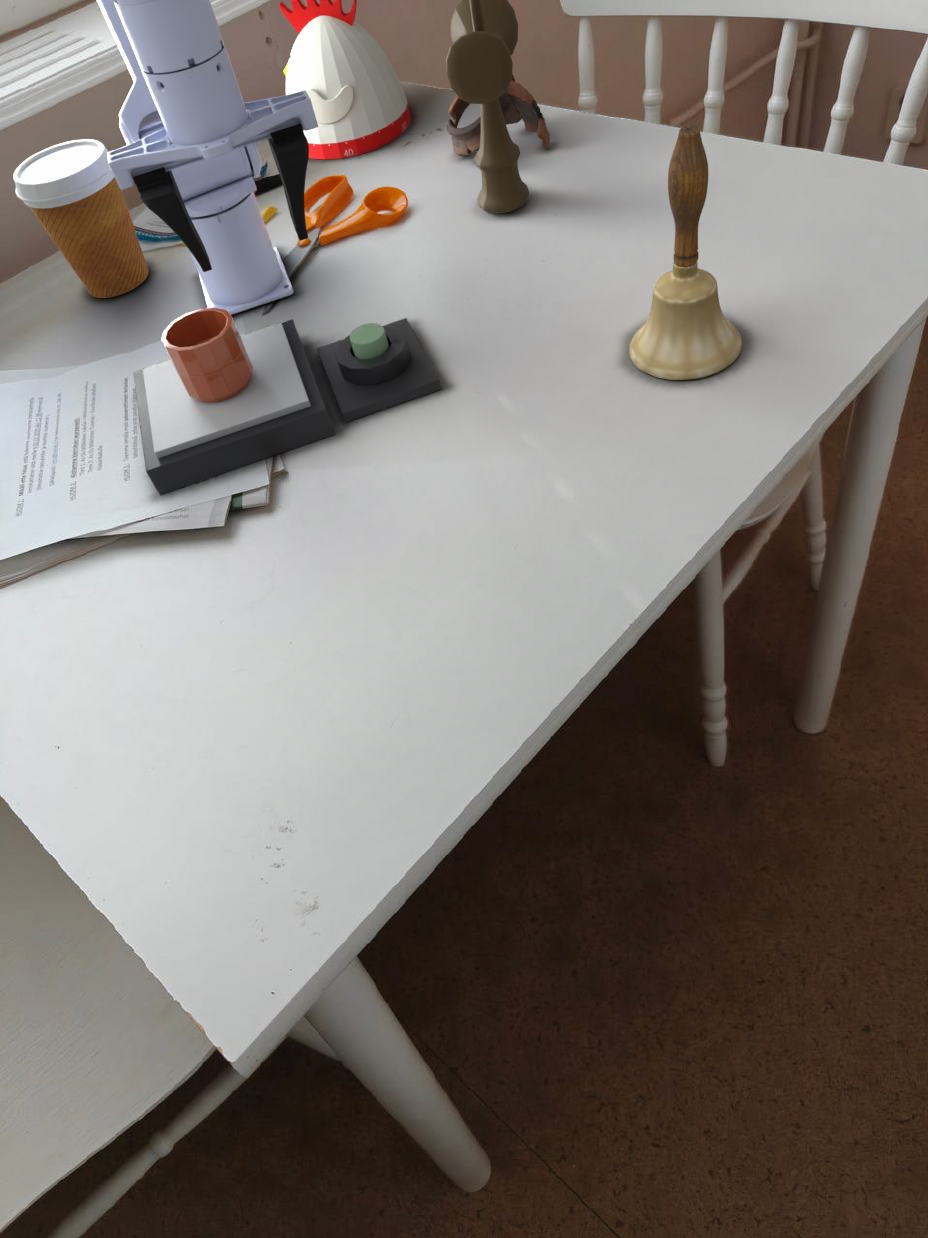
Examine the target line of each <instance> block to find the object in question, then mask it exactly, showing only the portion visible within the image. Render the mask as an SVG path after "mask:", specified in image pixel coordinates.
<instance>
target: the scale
mask: <svg viewBox="0 0 928 1238" xmlns="http://www.w3.org/2000/svg"><path fill="white" fill-rule="evenodd" d="M240 337H241V339H242V342H243V344H244V347H245V349H246V352H247V354H248V356H249V359H250V361H251V364H252V366H253V369H252V376H251V378H250V381H249V383H248V385H247V386H246V387H245V388H244V389H243V390H242V391H241V392H240V393H238V394H237V395H235V396H233V397H231V398H229V399H226V400H223V401H219V402H211V403H209V402H202V401H199V400H198V399H196V398H193V397H190V396H189V395H188V393H187V392H186V390H185V388H184V386H183V384H182V382H181V380H180V378H179V376H178V374H177V372H176V370H175V368H174V366H173V364H172V362H171V360H170V358H169V359H167V360H164V361H161V362H158V363H155V364H152V365H149V366H146V367H142V369H139V370H136V371H133V374H132V375H133V380H134V387H135V388H134V389H135V396H136V404H137V405H136V406H137V413H138V419H139V428H140V434H141V442H142V450H143V457H144V465H145V472H146V474H147V476H148V477H149V479H150V481H151V483H152V484H153V486H154V488H155V489H156V491H157V493H158V495H160V496H161V495H164V494H167V493H170V492H173V491H176V490H178V489H181V488H183V487H187V486H189V485H192V484H195V483H199V482H201V481H204V480H207V479H210V478H212V477H216V476H219V475H222V474H224V473H227V472H231V471H233V470H235V469H238V468H239V469H240V468H242V467H245V466H247V465H250V464H253V463H257V462H259V461H262V460H265V459H268V458H271V457H274V456H277V455H279V454H282V453H285V452H286V453H287V452H289V451H291V450H294V449H297V448H300V447H303V446H306V445H309V444H311V443H314V442H317V441H320V440H323V439H325V438H329V437H331V436H334V435H336V432H335V429H334V427H333V424H332V420H331V418H330V415H329V412H328V410H327V407H326V405H325V401H324V399H323V396H322V394H321V391H320V388H319V386H318V383H317V379H316V377H315V375H314V371H313V370H312V367H311V365H310V364H311V363H310V362H309V359H308V357H307V356H308V355H307V353H306V350H305V348H304V345H303V342H302V340H301V337H300V335H299V332H298V330H297V327H296V323H295V321H294V319H293V318H291V319H288V320H285V321H283V322H282V321H281V322H277V323H274V324H272V325H269V326H265V327H262V328H259V329H257V330H253V331H250V332H247V333H244V334H240Z"/></svg>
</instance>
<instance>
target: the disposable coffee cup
mask: <svg viewBox="0 0 928 1238" xmlns="http://www.w3.org/2000/svg"><path fill="white" fill-rule="evenodd" d="M108 152H109V150H108V149H107V147H106V146H105V145H104V144H103V143H102V142H101V141H99V140H96V139H92V138H83V139H73V140H70V141H69V140H68V141H65V142H60V143H58V144H54V145H51V146H50V147H47V148H44V149H42V150H41V151H38V152H36V153H34V154H32V155H30V156H29V157H28V158H26V159H25V160H23V161H22V162H21V163H19V165H18V166H17V167H16V169H15V170H14V172H13V175H12V178H13V182H14V185H15V191H14V193H15V195H16V197H17V198H18V199H19V200H20V201H22V202H23V203H24V204H25V206H27V207H28V208H29V209H30V210H31V212H32V213H33V214H34V216H35V217H36V219H37V220H38V221H39V223H40V224H41V226H42V227H43V228H44V230H45V232H46V233H47V235H48V236H49V237H50V239H51V240H52V242H53V243H54V244H55V246H56V247H57V249H58V250H59V251H60V253H61V254H62V256H63V258H64V259H65V260H66V261H67V263H68V264H69V266H70V267H71V269H72V271H74V273H75V275H76V276H77V277H78V278H79V280H80V282H81V283H82V285H83V286H84V288H85V289H86V290H87V292H88V293H89V295H90V296H92V297H94V298H99V299H108V298H114V297H117V296H121V295H124V294H126V293H129V292H131V291H132V290H135V289H137V288H138V287H139V286H140V285H141V284H143V282H144V281H146V279H147V278H148V275H149V273H150V272H149V267H148V264H147V262H146V258H145V256H144V253H143V250H142V247H141V243H140V240H139V238H138V235H137V234H138V233H137V232H136V228H135V225H134V221H133V219H132V217H131V212H130V210H129V207H128V205H127V202H126V198H125V196H124V195H125V194H124V192H123V190H121V189H120V187H119V185H118V183H117V181H116V178H115V176H114V174H113V172H112V170H111V168H110V165H109V163H108V156H107V153H108Z"/></svg>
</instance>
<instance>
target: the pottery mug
mask: <svg viewBox="0 0 928 1238" xmlns="http://www.w3.org/2000/svg"><path fill="white" fill-rule="evenodd" d="M499 102H500V106H501V109H502V113H503V117H504V120H505V123H506V126H507V125H513V124H518V123H519V122H521V121H523V124H524V126H525V130H526V132H527V133H531V132H536V135H537V138H539V139H540V140H541V145H542V148H543V149H544V150H545V151H546V150H548V149H549V148H550V144H551V135H550V132H549V130H548V127H547V123H546V118H545V117H544V115H543V113H542V111H541V108H540V106H539V105H538V102H537V101H536V100H535V98H534V96H533V94H532V93H530V92H529V90H528V89H527V88H525V87H524V86H523V85H522V84H521V83H519V82H516V79H515V76H514V75H513V73H512V80H511V82H510V85H509V87H508V90H507V91H506V92H505V93H504V94H503V95H502V96H501V97H499ZM470 105H471V104H470V103H468V102H466V101H463V100H461V99H460V98H459V97H458V96H457V95H456V97H455V98H454V99H453V101H452V103H451V104H450V107H449V109H448V111H447V112H448V113H447V114H448V116H449V117H451V118H452V119H451V118H449V119H448V120H447V122H446V124H445V129H446V132H447V133H448V134H449V135H450V136H451V144H452V151H453V153H454V154H456V155H458V157H460V158H461V157H464V155H465V156H469V155H471V154H472V153H477V152H478V150H479V148H480V138H481V115H480V116H479V117H478V118H477V119H475V120H474V121H473V122H471V123H470V124H468V125H466V126H463V127H458V126H459V123H460V120H462V119H461V118H462V116H463V114H464V113H465V112H466V110H467V108H469V106H470Z"/></svg>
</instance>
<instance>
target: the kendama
mask: <svg viewBox="0 0 928 1238" xmlns="http://www.w3.org/2000/svg"><path fill="white" fill-rule="evenodd" d="M510 3H511V2H509V0H461V1H460V2H459V3H458V4H457V5H456V6H455V8H454V12H453V13H452V17H451V20H450V38H451V41H452V44H451V45H450V46H449V49H448V53H447V55H446V58H445V62H446V63H445V69H446V77H447V80H448V82H449V86H450V88H451V90H452V91H453V92H454V93H455V95H456V97H457V96H458V97H459V98H460V99H461V100H463V101H466V102H468V103H470V105H479V108H480V111H479V112H480V116H481V138H480V148H479V150H478V151H476V154H475V156H474V163H475V166H476V167H477V168H478V169H479V171H480V173H481V190H480V192H479V194H478V196H477V203H478V204H477V205H478V208H479V209H481V210H482V211H484V212H486V213H490V214H504V213H509V212H512V211H515V210H517V209H519V208H521V207H523V206H524V205H525V204H526V203H527V201H528V200H529V198H530V189H529V187H528V185H527V184H526V183H525V182H524V181H523V179H522V177H521V175H520V170H519V159H520V157H521V149H520V146H519V145H518V144H516V143H515V142H514V141H513V139H512V137H511V135H510V133H509V129H508V127H507V125H506V123H505V120H504V117H503V113H502V109H501V106H500V102H499V97H501V96H502V95H503V94H504V93H505V92H506V91H507V90H508V87H509V85H510V82H511V80H512V74H513V69H514V68H513V67H514V66H513V65H514V64H513V63H514V62H513V60H512V56H513V54H514V52H515V49H516V46H517V44H518V41H519V23H518V18H517V15H516V11H515V9H514V7H513V6H512V5H511V4H510Z"/></svg>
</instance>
